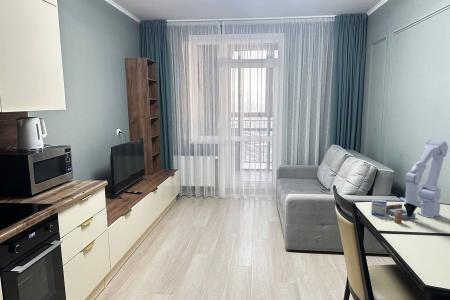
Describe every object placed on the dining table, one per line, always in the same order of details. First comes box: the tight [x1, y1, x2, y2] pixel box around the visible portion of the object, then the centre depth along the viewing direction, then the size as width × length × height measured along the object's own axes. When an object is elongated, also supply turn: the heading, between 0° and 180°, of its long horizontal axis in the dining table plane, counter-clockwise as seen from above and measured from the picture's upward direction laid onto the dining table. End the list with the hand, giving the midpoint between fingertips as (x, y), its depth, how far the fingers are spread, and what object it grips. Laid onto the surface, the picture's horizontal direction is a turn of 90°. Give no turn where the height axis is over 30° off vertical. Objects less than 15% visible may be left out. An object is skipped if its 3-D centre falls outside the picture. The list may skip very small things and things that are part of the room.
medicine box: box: [370, 198, 388, 217], centre depth 191 cm, size 8×4×9 cm, turn 68°
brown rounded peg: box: [394, 211, 403, 224], centre depth 178 cm, size 4×4×6 cm
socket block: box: [387, 207, 417, 220], centre depth 188 cm, size 10×10×2 cm
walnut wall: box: [386, 203, 403, 212], centre depth 196 cm, size 14×4×4 cm, turn 105°
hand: (409, 216), depth 182 cm, fingers closed
